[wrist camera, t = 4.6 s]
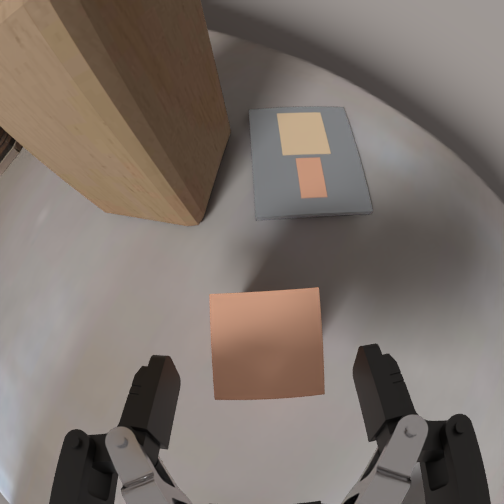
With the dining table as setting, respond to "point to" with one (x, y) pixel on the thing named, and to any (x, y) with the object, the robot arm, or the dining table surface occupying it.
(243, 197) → the dining table surface
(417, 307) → the dining table surface
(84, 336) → the dining table surface
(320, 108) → the tile
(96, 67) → the wooden block
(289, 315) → the terracotta block
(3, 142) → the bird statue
